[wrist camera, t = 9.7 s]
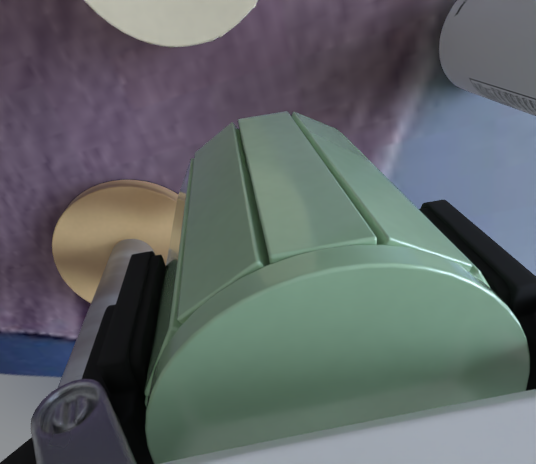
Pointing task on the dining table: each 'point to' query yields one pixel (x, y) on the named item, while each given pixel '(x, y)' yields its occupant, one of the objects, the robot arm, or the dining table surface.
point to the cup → (173, 19)
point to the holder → (108, 248)
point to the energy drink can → (492, 50)
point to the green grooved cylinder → (311, 299)
